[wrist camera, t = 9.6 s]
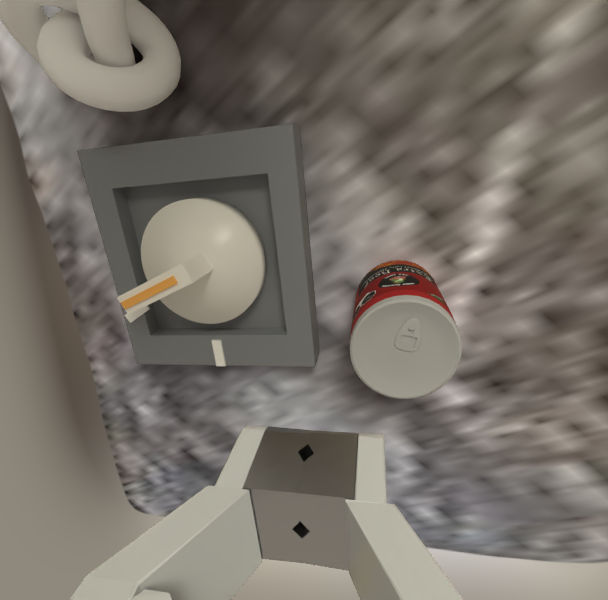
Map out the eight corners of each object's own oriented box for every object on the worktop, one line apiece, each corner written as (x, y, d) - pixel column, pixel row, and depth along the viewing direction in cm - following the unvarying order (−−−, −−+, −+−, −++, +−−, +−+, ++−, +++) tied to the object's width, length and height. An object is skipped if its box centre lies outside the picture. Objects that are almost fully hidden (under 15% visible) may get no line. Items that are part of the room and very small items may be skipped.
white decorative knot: (89, 130, 35) (1, 120, 27) (47, -24, 31) (-72, -92, 23) (197, 115, 33) (136, 98, 24) (167, -54, 29) (83, -141, 20)
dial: (227, 173, 32) (195, 176, 27) (288, 289, 35) (272, 314, 30) (126, 233, 36) (80, 246, 31) (189, 333, 39) (158, 362, 33)
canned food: (437, 254, 33) (464, 295, 23) (437, 333, 36) (461, 401, 26) (353, 260, 35) (344, 301, 24) (359, 335, 37) (353, 400, 27)
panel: (100, 151, 35) (75, 150, 32) (299, 127, 31) (291, 123, 28) (152, 351, 43) (136, 365, 40) (319, 352, 39) (314, 367, 36)
